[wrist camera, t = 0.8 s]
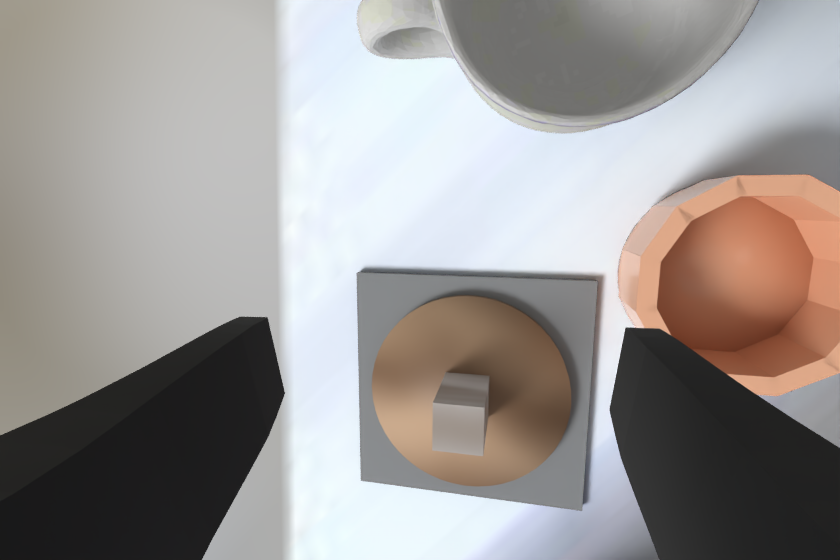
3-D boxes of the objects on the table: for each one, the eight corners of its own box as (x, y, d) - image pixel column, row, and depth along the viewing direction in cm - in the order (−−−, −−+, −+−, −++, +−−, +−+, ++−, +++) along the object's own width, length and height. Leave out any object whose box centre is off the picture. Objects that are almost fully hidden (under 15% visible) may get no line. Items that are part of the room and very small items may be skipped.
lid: (564, 492, 25) (575, 553, 20) (376, 467, 27) (348, 518, 23) (575, 299, 23) (590, 321, 19) (373, 290, 25) (343, 308, 21)
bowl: (808, 368, 22) (871, 403, 18) (611, 355, 24) (629, 384, 20) (836, 179, 20) (912, 173, 16) (624, 181, 22) (647, 176, 18)
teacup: (705, -100, 20) (827, -299, 12) (671, 153, 22) (758, 123, 14) (400, -73, 22) (339, -220, 15) (394, 149, 24) (336, 122, 17)
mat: (581, 506, 25) (582, 510, 25) (363, 476, 28) (361, 480, 28) (596, 280, 23) (597, 281, 23) (359, 271, 26) (356, 272, 25)
